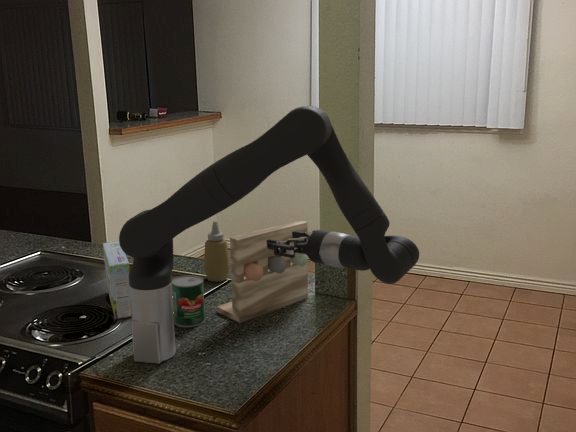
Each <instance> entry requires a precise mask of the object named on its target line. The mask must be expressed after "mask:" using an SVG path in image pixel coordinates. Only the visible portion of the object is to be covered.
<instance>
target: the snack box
mask: <svg viewBox="0 0 576 432" xmlns="http://www.w3.org/2000/svg"><path fill="white" fill-rule="evenodd" d="M102 250H103V258H104V259H103V261H104V262H103V263H104V268H105V276H106V277H105V278H106V285H107V287H106V288H107V293H108V296H109V297H108V298H109V300H110V304H111V309H112V313H113V317H114V320H119V319H121V320H122V319H126V318H132V315H131V302H130V289H129V272H130V269H131V265H130V262H129V259H128V257H127V254H125V253H124V252H123V250H122V249H121V247H120V244H119V240H118V241H112V242H102Z"/></svg>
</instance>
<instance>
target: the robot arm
mask: <svg viewBox="0 0 576 432" xmlns="http://www.w3.org/2000/svg"><path fill="white" fill-rule="evenodd" d="M305 156H307V157H308V158H309V159H310V160H311V161H312V162H313V164H314V165H315V166H316V167H317V168H318V170H319V172H320V173H321V174H322V176H323V177H324V179H325V181H326V183H327V185H328V186H329V189H330V191H331V194H332V195H333V198H334V199H335V202H336V204H337V206H338V209H340V211H341V213H342V215H343V216H344V218H345V220H347V222H348V223H349V225H350V226H351V228H352V230H353V231H354V233H355V235H356V236H355V235H351V234H348V233H343V232H338V231H331V230H323V229H314V230H312V231H307V232H298V231H294V232H292V238H290V239H287V241H277V240H272V239H268V240H267V241H266V242H267V248H268V249H271V250H274V255H278V256H284V257H289V258H294V257H295V254H300V255H307V256H308V257H309V260H310V262H312V263H314V264H319V265H323V266H324V265H325V266H328V267H329V266H330V267H335V268H345V269H350V270H353V271H354V270H355V271H362V272H364V271H369V270H370V272H371V273H372V274H373V276H374V277H375V278H376V279H377V280H378V281H379V282H382V283H384V284H386V285H393V284H396V283H398V282H399V281H400V280H401V279H402V278H404V277H405V275H406V274H408V273H409V272H410V271H411V270H412V268H414V267H415V266H416V264H417V263H418V261H419V258H420V250H419V248H418V246H417V245H416V243H414V241H412V240H411V239H409V238H407V237H406V236H401V235H386V232H387V231H388V229H389V227H390V225H391V224H390V219H389V218H388V216H387V215H386V213H385V212H384V210H383V208H382V207H381V205H380V204H379V202H378V201H377V200H376V198H375V197H374V195H373V193H372V192H371V191H370V189H369V188H368V186H367V185H366V184H365V182H364V181H363V179H362V178H361V177H360V175H359V174H358V172H357V170H356V169H355V167H354V166H353V164H352V163H351V161H350V160H349V158H348V156H347V154H346V152H345V151H344V149H343V146H342V144H341V143H340V140H339V138H338V136H337V134H336V131H335V129H334V128H333V125H332V122H331V120H330V117H329V116H328V114H327V113H326V112H325V111H324V110H323V109H321V108H320V107H317V106H313V105H305V106H299V107H296V108H294V109H291V110H290V111H289V112H288V113H286V115H284V116H283V117H282V118H281V119H279V121H277V122H276V123H275V124H274V125H273V126H271V128H269V129H268V130H267V131H266V132H264V133H262V135H260V136H259V137H257V138H256V139H255V140H253V141H251V142H250V143H247V144H246V145H244V146H241V147H240V148H238V149H236V150H234V151H232V152H229V154H227V155H225V156H224V157H222V158H220V159H218V160H216V161H215V162H213V163H212V164H211V165H209V166H207V167H206V168H204V169H203V170H202V171H200V172H199V173H197V174H196V175H195V176H193V178H191V179H190V180H188V181H187V182H186V183H185V184H183V185H182V186H181V187H180V188H179V189H177V191H175V192H174V193H173V194H171V196H169V197H168V198H167V199H165V201H163V202H162V203H160V204H158V205H157V206H155V207H153V208H151V209H145V210H142V211H141V212H139V213H137V214H136V215H134V216H132V217H130V218H129V219H128V220H127V221H125V223H124V224H123V225H122V227H121V229H120V232H119V235H118V241H119V244H120V247H121V249H122V250H123V252H124V253H125V254H126V256H129V257H131V258H133V261H132V264H131V266H130V272H129V289H130V302H131V315H132V317H131V323H130V324H131V336H132V337H131V338H132V349H133V360H134V362H139V363H148V364H150V363H151V364H156V365H157V364H161V363H162V362H164V361H167V360H170V359H171V358H172V357H174V356H175V354H176V351H177V350H176V336H175V335H176V333H175V323H174V308H173V292H172V291H173V290H172V273H173V268H174V238H176V237H177V236H178V235H180V234H182V233H183V232H185V231H186V230H188V229H190V228H192V227H195V226H196V225H198V224H200V223H203V222H204V221H206V220H209V219H210V218H212V217H213V216H216V215H217V214H219V213H221V212H222V211H224V210H226V209H228V208H229V207H231V206H232V205H235V204H236V203H237V202H239V201H240V200H242V199H244V198H245V197H246V196H248V194H250V193H251V192H253V191H254V190H255V189H256V188H258V187H259V186H260V185H261V184H262V183H263V182H265V180H266V179H267V178H268V177H270V176H271V175H272V174H273V173H275V172H276V171H278V170H279V169H281V168H284V167H285V166H286V165H290V164H291V163H293V162H294V161H297V160H298V159H301V158H303V157H305ZM291 242H294V246H292V245H291ZM285 244H287V245H285Z"/></svg>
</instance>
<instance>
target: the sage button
mask: <svg viewBox="0 0 576 432" xmlns="http://www.w3.org/2000/svg"><path fill="white" fill-rule="evenodd" d="M309 260H310V259H309V257H308V256H307V255H300V254H295V257H294V258H291V263H293V264H295V265H298V266H302V267H303V266H305V265H306V264H307V262H308V263H309Z"/></svg>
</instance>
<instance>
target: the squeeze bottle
mask: <svg viewBox="0 0 576 432" xmlns="http://www.w3.org/2000/svg"><path fill="white" fill-rule="evenodd" d="M224 237H225V236H224V233H223V232H222V231H220V228H219V224H218V221H213V222H212V225H211V232H209V233H207V240H206V241H205V242H204V257H203V272H204V273H205V275H206V279H207V280H208V281H209V282H214V283H216V282H218V283H219V282H223V281H227V279H228V276H229V273H230V271H231V260H230V257H229V255H230V254H229V248H228V241H227V240H226V239H224Z"/></svg>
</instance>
